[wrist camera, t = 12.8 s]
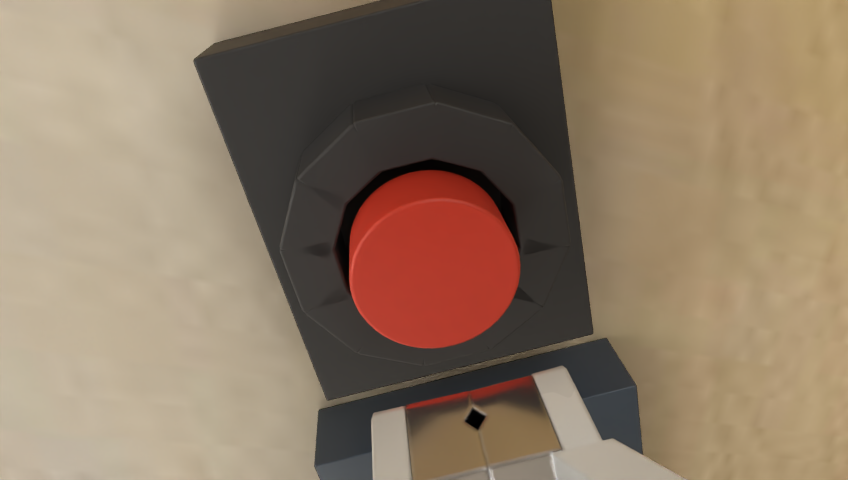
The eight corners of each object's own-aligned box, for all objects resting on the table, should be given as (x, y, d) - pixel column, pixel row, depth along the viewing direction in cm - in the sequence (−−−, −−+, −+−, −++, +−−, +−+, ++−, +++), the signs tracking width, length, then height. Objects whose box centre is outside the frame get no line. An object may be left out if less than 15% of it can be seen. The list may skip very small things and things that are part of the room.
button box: (212, 43, 16) (170, 76, 12) (523, -37, 15) (574, -28, 12) (329, 356, 20) (324, 447, 16) (570, 295, 20) (617, 374, 16)
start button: (329, 191, 14) (326, 224, 12) (488, 150, 14) (506, 178, 12) (372, 322, 15) (375, 367, 14) (514, 286, 15) (533, 327, 14)
